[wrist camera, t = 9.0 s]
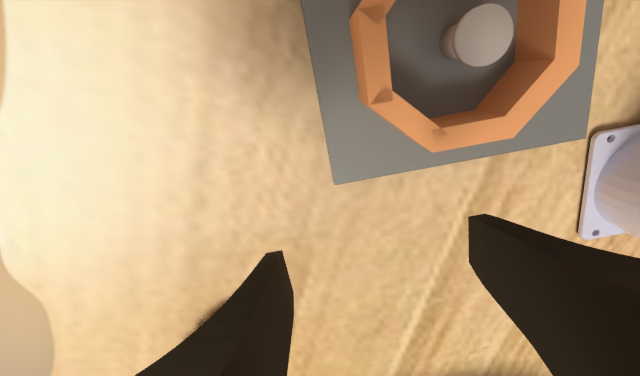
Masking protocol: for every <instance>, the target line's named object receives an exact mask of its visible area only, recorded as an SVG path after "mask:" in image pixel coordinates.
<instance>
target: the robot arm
mask: <svg viewBox="0 0 640 376" xmlns="http://www.w3.org/2000/svg"><path fill="white" fill-rule="evenodd" d="M609 136H610V137H609ZM608 137H609V139H608V140H607V138H608ZM468 222H469V263H470V265H471V266H472V268H473V270H474V271H475V273H476V275H477V276H478V278H479V279H480V281H481V283H482V284H483V285H484V287H485V288H486V289H487V290H488V292H489V293H490V294H491V295H492V297H493V298H494V299H495V300H496V302H497V303H498V304H499V305H500V306H501V308H502V309H503V310H504V311H505V312H506V314H507V315H508V316H509V317H510V318H511V320H512V321H513V322H514V323H515V324H516V326H517V327H518V328H519V329H520V330H521V332H522V333H523V334H524V335H525V337H526V338H527V339H528V340H529V342H530V343H531V344H532V346H533V347H534V348H535V350H536V351H537V353H538V354H539V356H540V357H541V359H542V360H543V362H544V363H545V365H546V366H547V367H548V369H549V370H550V372H551V373H552V375H553V376H640V258H636V257H631V256H626V255H621V254H617V253H613V252H609V251H604V250H600V249H596V248H592V247H588V246H584V245H581V244H577V243H574V242H571V241H567V240H564V239H560V238H557V237H554V236H551V235H548V234H545V233H542V232H539V231H536V230H533V229H530V228H527V227H524V226H521V225H518V224H516V223H513V222H510V221H507V220H504V219H501V218H498V217H495V216H491V215H487V214H481V215H476V216H470V217H468ZM593 231H594V232H593ZM623 233H629V234H631V235H633V236H635V237H637V238H639V239H640V124H637V125H632V126H627V127H621V128H616V129H611V130H605V131H600V132H597V133H595V134H594V135H593V136H592V138H591V142H590V149H589V156H588V163H587V171H586V178H585V185H584V193H583V200H582V207H581V214H580V222H579V229H578V236H579V237H581V238H582V239H584V240H589V239H594V238H600V237H606V236H611V235H617V234H623ZM293 318H294V297H293V289H292V286H291V282H290V278H289V275H288V271H287V267H286V264H285V260H284V256H283V252H282V250H281V251H276V252H270V253H266V254H265V256H264V257H263V258H262V259H261V261H260V262H259V263H258V265H257V266H256V267H255V268H254V270H253V271H252V272H251V274H250V275H249V276H248V277H247V279H246V280H245V281H244V282H243V283H242V285H241V286H240V287H239V288H238V289H237V290H236V291H235V293H234V294H233V295H232V296H231V297H230V298H229V299H228V300H227V302H226V303H225V304H224V305H223V306H222V307H221V308H220V309H219V310H218V311H217V312H216V313H215V314H214V315H213V316H212V317H211V318H210V319H208V320H207V321H206V322H205V323H204V324H203V325H202V326H201V327H200V328H199V329H197V330H196V331H195V332H194V333H192V334H191V335H190V336H189V337H188V338H186V339H185V340H184V341H183V342H181V343H180V344H179V345H178V346H176V347H175V348H174V349H173V350H171V351H170V352H168V353H167V354H166V355H164V356H163V357H162V358H160V359H159V360H157V361H156V362H154V363H153V364H152V365H150V366H149V367H147V368H146V369H144V370H143V371H141V372H140V373H138V374H137V375H135V376H287V369H288V361H289V353H290V344H291V336H292V327H293Z"/></svg>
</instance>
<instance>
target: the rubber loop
mask: <svg viewBox="0 0 640 376" xmlns="http://www.w3.org/2000/svg"><path fill="white" fill-rule="evenodd" d="M395 1H396V0H361V2H360V4H359V5H358V7H357V8H356V10H355V11H354V13H353V15H352V16H351V18H350V19H349V24H350V31H351V39H352V47H353V54H354V62H355V70H356V77H357V85H358V93H359V100H360V101H361V102H362V103H364V104H365V105H366V106H368V107H369V108H370V109H372V110H373V111H374V112H376V113H377V114H378V115H380V116H381V117H382V118H384V119H385V120H386V121H388V122H389V123H390V124H392V125H393V126H395V127H396V128H397V129H399V130H400V131H401V132H403V133H404V134H405V135H407V136H408V137H409V138H411V139H412V140H413V141H415V142H416V143H418V144H420V145H421V146H423V147H424V148H426V149H427V150H429V151H431V152H432V153H434V152H439V151H444V150H450V149H455V148H461V147H466V146H472V145H477V144H482V143H488V142H493V141H499V140H504V139H510V138H514V137H515V136H516V134H517V133H518V132H519V131H520V130H521V129H522V128H523V127H524V126H525V125H526V123H527V122H528V121H529V120H530V119H531V118H532V117H533V116H534V115H535V113H536V112H537V111H538V110H539V109H540V108H541V107H542V106H543V105H544V104H545V102H546V101H547V100H548V99H549V98H550V97H551V96H552V95H553V94H554V93H555V91H556V90H557V89H558V88H559V87H560V86H561V85H562V84H563V83H564V81H565V80H566V79H567V78H568V77H569V76H570V75H571V74H572V73H573V72H574V70H575V69H576V68H577V67H578V66H579V61H580V53H581V44H582V36H583V27H584V18H585V10H586V1H587V0H517V21H516V43H515V62H514V63H513V64H512V65H511V67H510V68H509V69H508V70H507V71H506V73H505V74H504V75H503V76H502V77H501V79H500V80H499V81H498V82H497V83H496V85H495V86H494V87H493V88H492V89H491V91H490V92H489V93H488V94H487V95H486V96H485V98H484V99H483V100H482V101H481V102H480V104H479V105H478V106H477V107H476V108H475V110H471V111H465V112H460V113H455V114H449V115H444V116H439V117H433V118H427V117H426V116H424V115H423V114H422V113H421V112H419V111H418V110H417V109H415V108H414V107H413V106H412V105H410V104H409V103H408V102H406V101H405V100H404V99H403V98H401V97H400V96H399V95H397V94H396V93H395V92H393V91H392V83H391V72H390V61H389V50H388V39H387V29H386V18H385V16H386V14H387V13H388V11H389V10H390V8H391V7H392V5H393V4H394V2H395Z"/></svg>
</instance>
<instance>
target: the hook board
mask: <svg viewBox="0 0 640 376" xmlns="http://www.w3.org/2000/svg"><path fill="white" fill-rule="evenodd" d="M360 2H361V0H301V5H302V10H303V16H304V21H305V27H306V32H307V38H308V43H309V49H310V54H311V60H312V65H313V71H314V76H315V82H316V87H317V93H318V98H319V103H320V109H321V114H322V120H323V125H324V131H325V136H326V142H327V147H328V153H329V158H330V164H331V169H332V175H333V180H334V185H339V184H344V183H349V182H355V181H360V180H365V179H371V178H376V177H381V176H387V175H392V174H398V173H403V172H408V171H414V170H419V169H424V168H430V167H435V166H440V165H446V164H451V163H456V162H462V161H467V160H472V159H478V158H483V157H488V156H494V155H499V154H505V153H510V152H515V151H521V150H526V149H531V148H537V147H542V146H547V145H553V144H558V143H563V142H569V141H574V140H579V139H585V138H586V134H587V126H588V119H589V111H590V104H591V96H592V88H593V81H594V73H595V65H596V58H597V50H598V43H599V35H600V27H601V20H602V12H603V4H604V0H587V1H586V10H585V18H584V27H583V36H582V44H581V53H580V61H579V66H578V67H577V68H576V69H575V70H574V72H573V73H572V74H571V75H570V76H569V77H568V78H567V79H566V80H565V81H564V83H563V84H562V85H561V86H560V87H559V88H558V89H557V90H556V91H555V93H554V94H553V95H552V96H551V97H550V98H549V99H548V100H547V101H546V102H545V104H544V105H543V106H542V107H541V108H540V109H539V110H538V111H537V112H536V113H535V115H534V116H533V117H532V118H531V119H530V120H529V121H528V122H527V123H526V125H525V126H524V127H523V128H522V129H521V130H520V131H519V132H518V133H517V134H516V136H515V137H514V138H510V139H504V140H499V141H493V142H488V143H482V144H477V145H472V146H466V147H461V148H455V149H450V150H444V151H439V152H434V153H432V152H431V151H429V150H427V149H426V148H424V147H423V146H421V145H420V144H418V143H416V142H415V141H413V140H412V139H411V138H409V137H408V136H407V135H405V134H404V133H403V132H401V131H400V130H399V129H397V128H396V127H395V126H393V125H392V124H390V123H389V122H388V121H386V120H385V119H384V118H382V117H381V116H380V115H378V114H377V113H376V112H374V111H373V110H372V109H370V108H369V107H368V106H366V105H365V104H364V103H362V102H361V101H360V100H359V93H358V85H357V77H356V70H355V62H354V54H353V47H352V39H351V31H350V24H349V19H350V18H351V16H352V15H353V13H354V11H355V10H356V8H357V7H358V5H359V4H360ZM385 18H386V29H387V39H388V50H389V61H390V72H391V83H392V91H393V92H395V93H396V94H397V95H399V96H400V97H401V98H403V99H404V100H405V101H406V102H408V103H409V104H410V105H412V106H413V107H414V108H415V109H417V110H418V111H419V112H421V113H422V114H423V115H424V116H426V117H427V118H433V117H439V116H444V115H449V114H455V113H460V112H465V111H471V110H475V108H476V107H477V106H478V105H479V104H480V102H481V101H482V100H483V99H484V98H485V96H486V95H487V94H488V93H489V92H490V91H491V89H492V88H493V87H494V86H495V85H496V83H497V82H498V81H499V80H500V79H501V77H502V76H503V75H504V74H505V73H506V71H507V70H508V69H509V68H510V67H511V65H512V64H513V63H514V62H515V43H516V21H517V0H396V1H395V2H394V4H393V5H392V7H391V8H390V10H389V11H388V13H387V14H386V16H385Z"/></svg>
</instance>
